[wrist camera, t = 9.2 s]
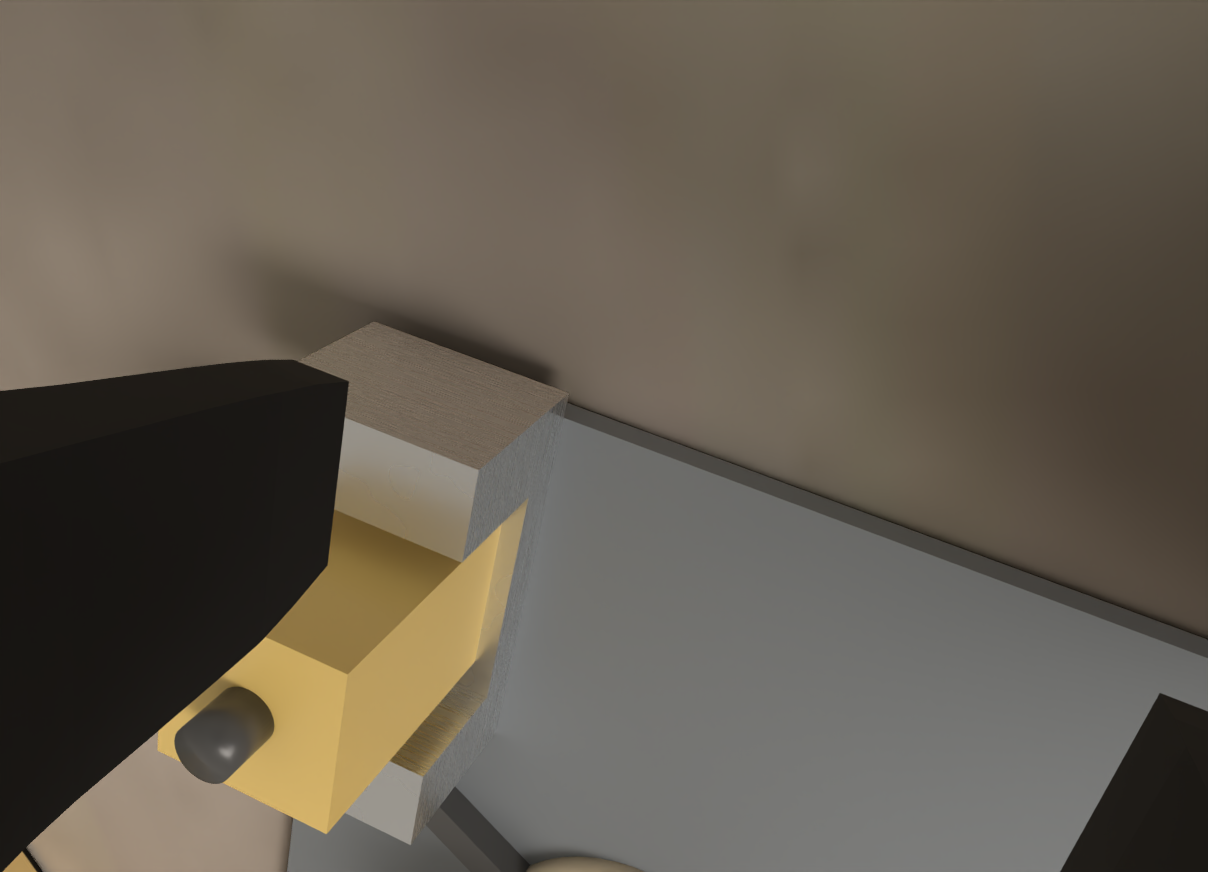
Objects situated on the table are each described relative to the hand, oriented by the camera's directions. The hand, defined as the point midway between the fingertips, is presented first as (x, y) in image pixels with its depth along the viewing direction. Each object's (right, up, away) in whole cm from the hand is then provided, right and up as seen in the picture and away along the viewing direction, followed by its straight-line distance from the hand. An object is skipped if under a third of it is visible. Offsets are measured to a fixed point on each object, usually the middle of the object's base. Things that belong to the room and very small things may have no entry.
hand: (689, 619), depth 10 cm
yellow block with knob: (-4, -1, +12) cm, 13 cm away
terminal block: (-4, 0, +13) cm, 13 cm away
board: (+1, -7, +14) cm, 16 cm away
